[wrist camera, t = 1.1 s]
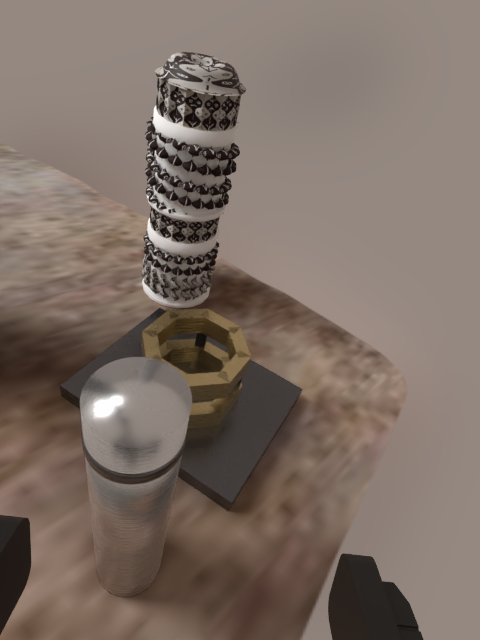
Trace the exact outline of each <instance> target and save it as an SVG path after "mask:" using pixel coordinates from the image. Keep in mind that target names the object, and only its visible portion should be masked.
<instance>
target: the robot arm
mask: <svg viewBox="0 0 480 640" xmlns="http://www.w3.org/2000/svg"><path fill="white" fill-rule="evenodd" d="M30 568H31V544H30V522H29V519H28V518H22V517H13V516H4V515H0V634H1V632H2V630H3V629H4V627H5V625H6V623H7V621H8V619H9V617H10V615H11V613H12V611H13V609H14V608H15V606H16V604H17V602H18V600H19V598H20V596H21V594H22V592H23V590H24V588H25V586H26V583H27V580H28V577H29V573H30ZM328 612H329V623H330V628H331V634H332V639H333V640H423V638H422V635H421V632H419V630H418V624H417V622H416V619H415V617H414V614H413V611H412V609H411V606H410V604H409V602H408V601H407V600H406V598H405V597H404V596H403V594H402V593H401V592H400V590H399V589H398V588H397V586H396V585H395V584H394V583H392V582H382V580H381V577H380V575H379V571H378V568H377V565H376V563H375V561H374V559H373V558H372V557H370V556H361V555H352V554H342V555H341V557H340V560H339V563H338V566H337V570H336V574H335V577H334V581H333V584H332V588H331V592H330V595H329V605H328Z"/></svg>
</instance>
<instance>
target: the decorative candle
mask: <svg viewBox="0 0 480 640" xmlns="http://www.w3.org/2000/svg"><path fill="white" fill-rule="evenodd" d="M155 73H156V75H157V77H158V85H157V101H156V107H155V108H154V117H152V118H151V119H153V124H152V121H148V122H147V124H148V125H149V126H148V129H147V130H148V131H147V132H146V133H145V138H146V139H147V140H148V146H149V148H148V149H147V152H148V154H147V155H146V160H147V162H148V168H146V169H145V173H146V175H147V176H148V179H147V181H148V184H147V185H148V188H147V189H146V194H147V199H148V202H149V204H150V218H149V220H148V230H147V231H146V235H145V236H144V241H145V242H146V247H144V249H143V251H144V253H145V258H144V259H143V261H142V264H143V267H144V269H143V271H142V276H143V278H144V279H143V281H142V284H143V289H144V292H145V293H146V294H147V295H148V297H149V298H150V299H151V300H153V301H155V302H157V303H159V304H160V305H162V306H167V307H171V308H176V309H178V308H191V307H194V306H196V305H199V304H201V303H203V302H204V301H205V300H206V299H207V298H208V296H209V291H210V287H211V286H212V285H211V283H210V282H209V281H210V280H213V276H214V274H213V273H212V272H211V271H213V270H215V267H214V265H215V263H216V261H215V259H216V257H217V255H216V254H217V253H218V250H217V248H218V247H219V243H218V242H217V236H218V230H219V229H218V221H219V217H220V216H221V215H222V214H223V213H224V210H225V206H226V204H228V199H229V196H228V194H227V191H228V190H230V189H231V187H232V186H231V181H230V180H229V179H228V178H227V177H226V175H230V174H231V173H233V172H235V171H236V163H235V162H234V161H233V160H232V159H234V158H236V157H237V156H238V155H239V154H240V151H239V149H238V146H237V145H235V144H234V141H235V137H236V132H237V127H238V122H237V115H238V110H239V106H240V99H241V94H243V93H245V91H246V88H245V87H244V86H243V85H242V84H241V83H240V82H239V78H238V75H237V72H236V70H235V69H234V68H233V67H232V66H231V65H230V64H229V63H227V62H225V61H223V60H221V59H218V58H215V57H211V56H207V55H203V54H197V53H187V52H181V53H175V54H173V55H172V56H171V57H170V58H169V59H168V60H167V62H166V64H165V65H164V67H160V68H158V69H157V70H155ZM155 130H156V132H155ZM154 134H155V135H156V138H155V139H153V135H154ZM154 154H155V157H154ZM153 157H154V158H153ZM152 171H154V175H152Z"/></svg>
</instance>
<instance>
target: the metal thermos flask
mask: <svg viewBox="0 0 480 640" xmlns="http://www.w3.org/2000/svg"><path fill="white" fill-rule="evenodd" d="M191 406H192V394H191V390H190V387H189V385H188V383H187V381H186V379H185V378H184V377H183V375H182V374H181V373H180V372H179V371H178V370H176V369H175V368H174V367H172V366H171V365H169V364H167V363H165V362H162V361H160V360H157V359H153V358H147V357H128V358H123V359H119V360H116V361H113V362H110V363H108V364H106V365H104V366H103V367H101V368H100V369H98V370H97V371H96V372H95V373H94V374H92V376H91V377H90V378H89V379H88V380H87V382H86V384H85V385H84V387H83V390H82V393H81V396H80V411H81V421H82V444H83V451H84V455H85V461H86V471H87V481H88V491H89V501H90V511H91V521H92V531H93V541H94V551H95V561H96V571H97V576H98V579H99V581H100V583H101V585H102V586H103V587H104V588H105V589H106V590H107V591H108V592H109V593H111V594H113V595H116V596H120V597H129V596H133V595H137V594H139V593H141V592H142V591H144V590H145V589H146V588H148V587H149V586H150V585H151V584H152V582H153V581H154V579H155V578H156V576H157V574H158V572H159V568H160V564H161V559H162V554H163V549H164V544H165V539H166V533H167V528H168V523H169V518H170V513H171V508H172V503H173V498H174V493H175V488H176V483H177V477H178V472H179V467H180V462H181V457H182V453H183V450H184V448H185V443H186V437H187V432H188V421H189V416H190V411H191Z"/></svg>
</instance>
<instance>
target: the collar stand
mask: <svg viewBox="0 0 480 640" xmlns="http://www.w3.org/2000/svg"><path fill="white" fill-rule="evenodd" d="M128 357H147V358H153V359H157V360H160V361H162V362H165V363H167V364H169V365H171V366H172V367H174V368H175V369H176V370H178V371H179V372H180V373H181V374H182V375H183V377H184V378H185V379H186V381H187V383H188V385H189V387H190V390H191V394H192V406H191V411H190V416H189V421H188V432H187V437H186V443H185V448H184V450H183V453H182V457H181V462H180V467H179V472H178V477H180V478H181V479H183V480H184V481H186V482H187V483H188V484H190V485H191V486H193V487H194V488H196V489H197V490H199V491H200V492H201V493H203V494H204V495H206V496H207V497H209V498H210V499H212V500H213V501H214V502H216V503H217V504H219V505H220V506H222V507H223V508H225V509H226V510H227V511H229V509H230V507H231V506H232V504H233V503H234V501H235V499H236V498H237V496H238V495H239V493H240V491H241V490H242V488H243V486H244V485H245V483H246V482H247V480H248V478H249V477H250V475H251V474H252V472H253V470H254V469H255V467H256V466H257V464H258V462H259V461H260V459H261V457H262V456H263V454H264V453H265V451H266V449H267V448H268V446H269V445H270V443H271V441H272V440H273V438H274V437H275V435H276V433H277V432H278V430H279V428H280V427H281V425H282V424H283V422H284V420H285V419H286V417H287V416H288V414H289V412H290V411H291V409H292V408H293V406H294V404H295V403H296V401H297V399H298V398H299V396H300V393H301V391H302V389H301V388H299V387H297V386H296V385H294V384H292V383H290V382H289V381H287V380H285V379H283V378H282V377H280V376H278V375H276V374H275V373H273V372H271V371H269V370H268V369H266V368H264V367H262V366H261V365H259V364H257V363H255V362H254V361H252V360H251V357H252V356H251V354H250V351H249V349H248V346H247V343H246V340H245V337H244V335H243V332H242V329H241V327H240V326H238V325H236V324H235V323H233V322H231V321H229V320H227V319H225V318H224V317H222V316H220V315H218V314H216V313H215V312H213V311H211V310H209V309H177V310H168V311H164V310H162V309H161V308H159V309H158V310H157V311H155V312H154V313H153V314H151V315H150V316H149V317H148V318H146V319H145V320H144V321H142V322H141V323H140V324H139V325H137V326H136V327H135V328H133V329H132V330H131V331H130V332H128V333H127V334H126V335H124V336H123V337H122V338H121V339H119V340H118V341H117V342H115V343H114V344H113V345H112V346H110V347H109V348H108V349H106V350H105V351H104V352H103V353H101V354H100V355H99V356H97V357H96V358H95V359H94V360H92V361H91V362H90V363H88V364H87V365H86V366H85V367H83V368H82V369H81V370H79V371H78V372H77V373H76V374H74V375H73V376H72V377H70V378H69V379H68V380H67V381H65V382H64V383H63V384H61V385H60V388H61V395H62V396H63V397H64V398H66V399H67V400H68V401H70V402H71V403H73V404H74V405H76V406H77V407H79V408H80V396H81V393H82V390H83V387H84V385H85V384H86V382H87V380H88V379H89V378H90V377H91V376H92V374H94V373H95V372H96V371H97V370H98V369H100V368H101V367H103V366H104V365H106V364H108V363H110V362H113V361H116V360H119V359H123V358H128Z"/></svg>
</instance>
